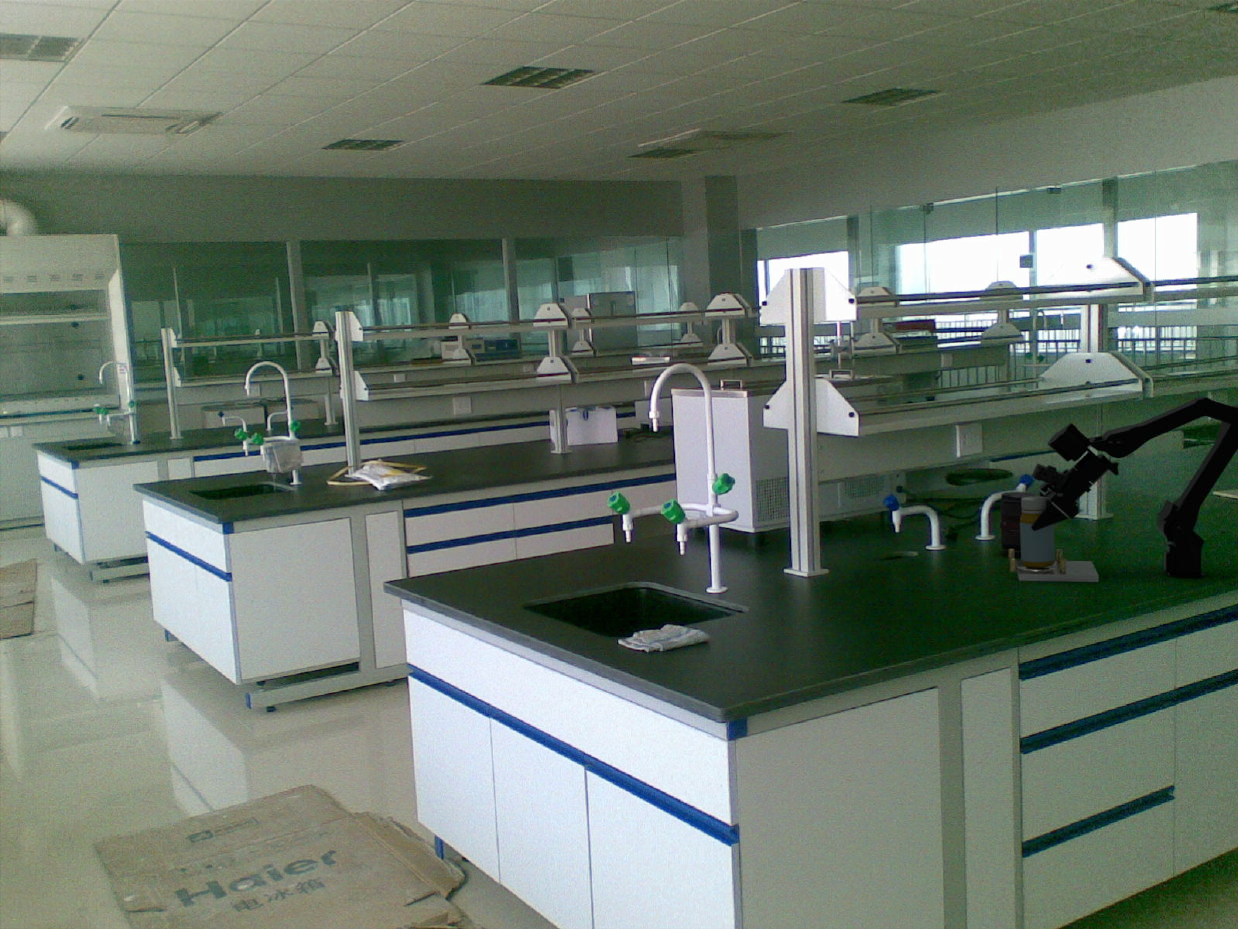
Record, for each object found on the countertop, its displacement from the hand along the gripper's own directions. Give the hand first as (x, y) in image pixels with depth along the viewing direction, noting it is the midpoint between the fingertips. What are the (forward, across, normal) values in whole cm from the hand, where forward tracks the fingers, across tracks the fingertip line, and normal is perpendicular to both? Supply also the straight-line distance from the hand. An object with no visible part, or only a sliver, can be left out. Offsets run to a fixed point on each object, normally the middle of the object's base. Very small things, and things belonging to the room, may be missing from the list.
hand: (1030, 526), depth 241 cm
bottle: (+5, 0, +7) cm, 9 cm away
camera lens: (+8, -20, +7) cm, 23 cm away
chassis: (+4, 0, +11) cm, 12 cm away
